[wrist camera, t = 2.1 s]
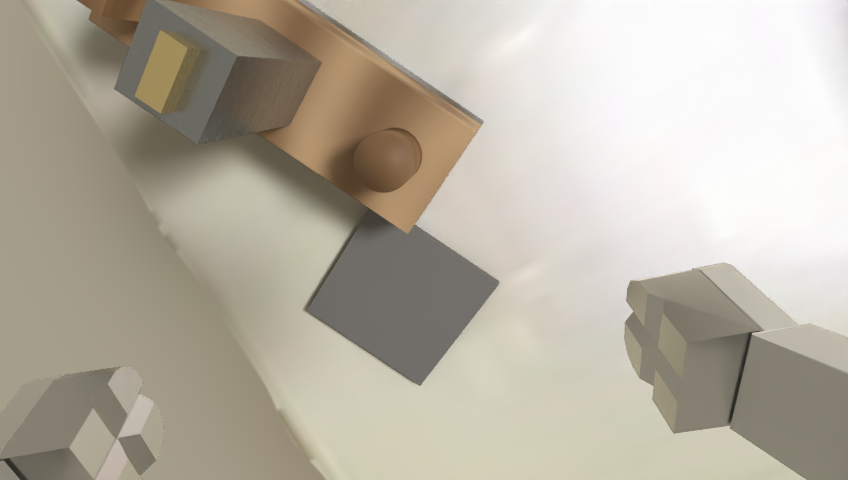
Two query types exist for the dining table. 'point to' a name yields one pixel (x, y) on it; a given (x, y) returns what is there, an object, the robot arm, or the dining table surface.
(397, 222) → the plane body
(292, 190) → the dining table surface
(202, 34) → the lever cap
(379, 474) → the dining table surface
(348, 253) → the pad
